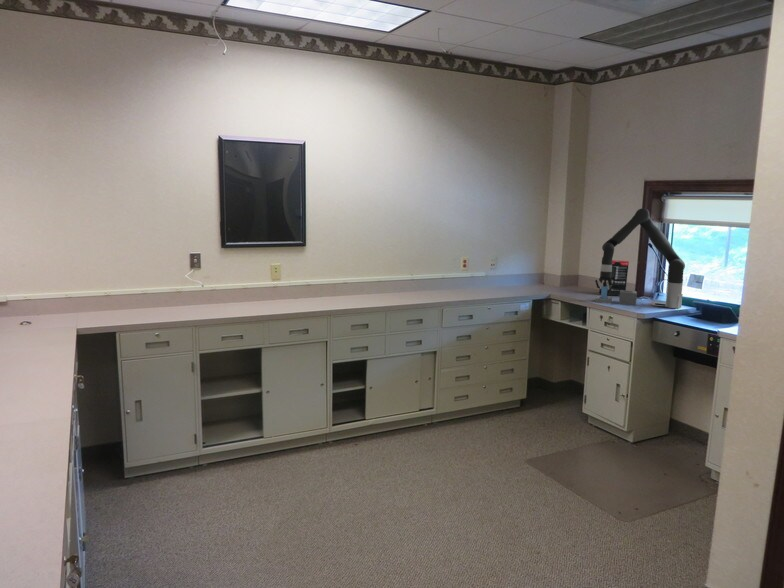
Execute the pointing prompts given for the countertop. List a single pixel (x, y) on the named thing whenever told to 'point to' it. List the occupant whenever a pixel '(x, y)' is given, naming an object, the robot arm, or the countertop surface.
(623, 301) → the jack block
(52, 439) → the countertop surface
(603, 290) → the plug
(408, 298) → the countertop surface
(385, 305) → the countertop surface
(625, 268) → the graphics card box
